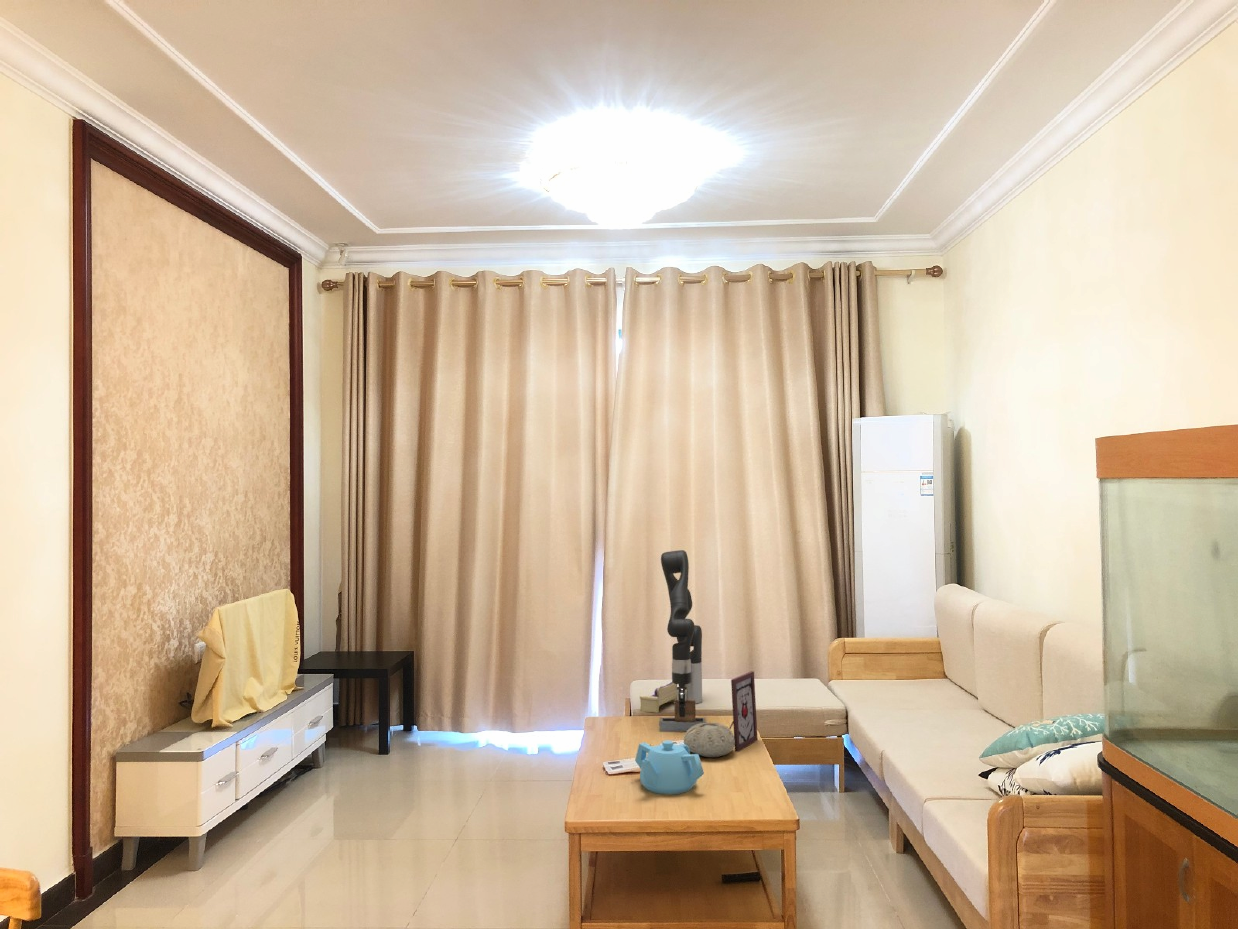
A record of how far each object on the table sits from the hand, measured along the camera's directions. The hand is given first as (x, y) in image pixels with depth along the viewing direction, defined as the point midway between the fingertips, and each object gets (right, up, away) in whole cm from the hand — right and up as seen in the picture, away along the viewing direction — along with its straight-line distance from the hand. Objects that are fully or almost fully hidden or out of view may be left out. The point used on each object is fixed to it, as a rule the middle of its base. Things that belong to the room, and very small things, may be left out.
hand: (682, 715), depth 327 cm
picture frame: (+18, -4, -20) cm, 28 cm away
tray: (0, -5, 0) cm, 5 cm away
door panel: (+1, -4, 0) cm, 4 cm away
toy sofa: (-7, -7, +35) cm, 36 cm away
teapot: (-9, -3, -65) cm, 65 cm away
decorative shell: (+7, -4, -32) cm, 33 cm away
